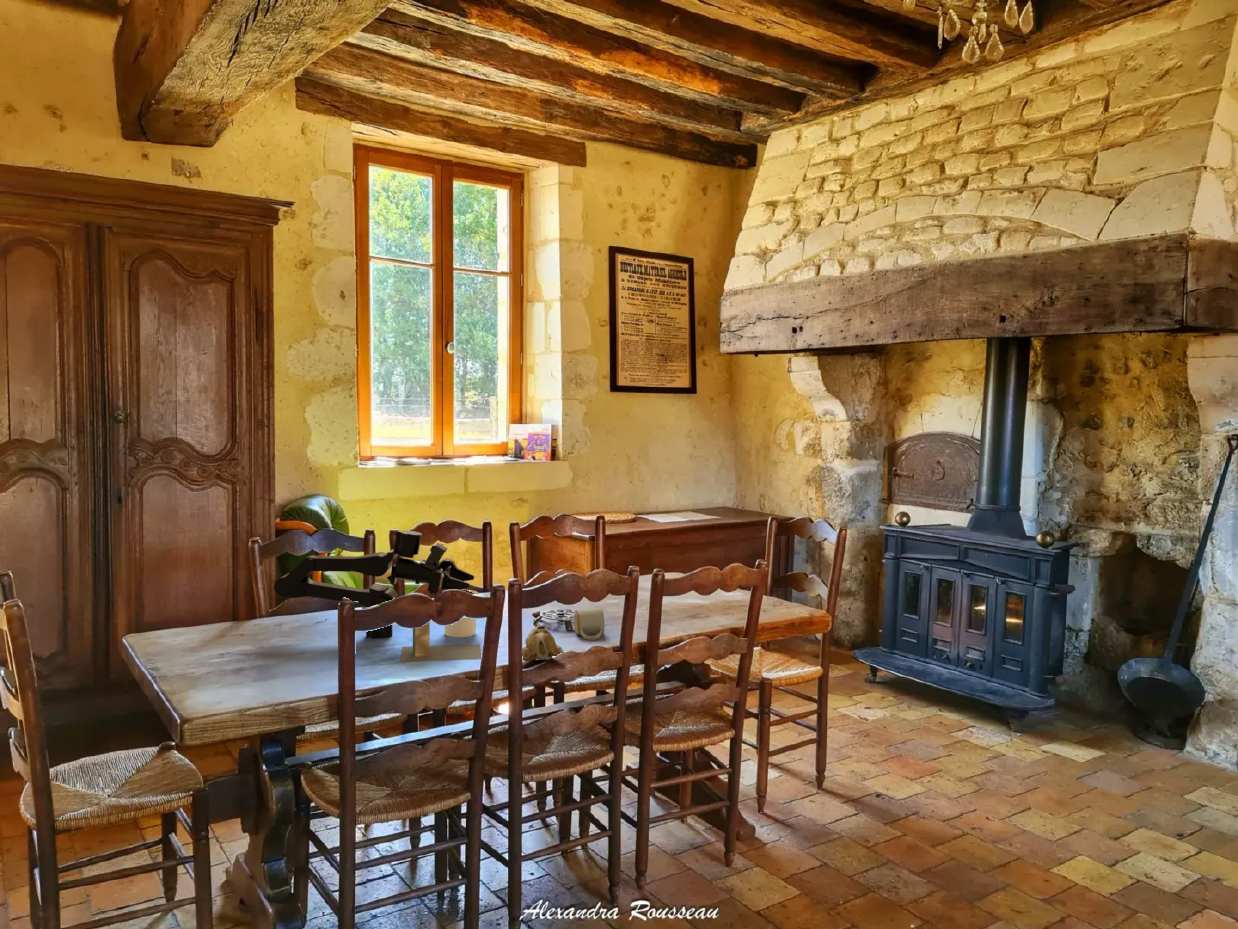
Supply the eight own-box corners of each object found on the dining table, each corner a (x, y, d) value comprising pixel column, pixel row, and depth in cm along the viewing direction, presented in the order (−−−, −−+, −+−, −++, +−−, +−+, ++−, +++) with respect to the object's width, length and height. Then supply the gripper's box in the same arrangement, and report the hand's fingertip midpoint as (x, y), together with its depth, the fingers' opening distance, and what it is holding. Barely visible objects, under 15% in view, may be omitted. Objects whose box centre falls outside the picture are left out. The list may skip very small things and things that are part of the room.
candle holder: (482, 632, 253) (482, 590, 252) (473, 641, 243) (473, 597, 242) (448, 631, 254) (448, 589, 253) (437, 640, 244) (437, 596, 243)
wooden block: (412, 657, 224) (412, 617, 224) (413, 650, 230) (413, 612, 230) (429, 656, 225) (429, 617, 224) (429, 649, 231) (429, 611, 230)
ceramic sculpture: (559, 617, 235) (565, 635, 220) (559, 649, 236) (565, 669, 221) (518, 619, 233) (521, 637, 218) (518, 651, 234) (521, 671, 219)
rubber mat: (399, 665, 220) (399, 662, 220) (402, 649, 234) (402, 646, 234) (481, 662, 224) (481, 658, 224) (480, 647, 237) (480, 644, 237)
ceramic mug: (573, 631, 255) (573, 606, 254) (600, 630, 256) (600, 605, 256) (579, 642, 245) (579, 615, 244) (607, 640, 247) (607, 614, 246)
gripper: (413, 549, 233) (472, 560, 234) (426, 536, 252) (481, 546, 252) (405, 590, 234) (464, 601, 235) (419, 574, 253) (474, 584, 253)
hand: (471, 581), depth 244 cm, fingers open, 9 cm apart
